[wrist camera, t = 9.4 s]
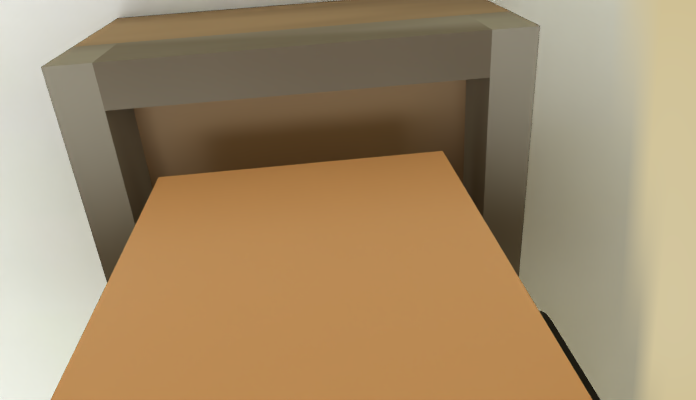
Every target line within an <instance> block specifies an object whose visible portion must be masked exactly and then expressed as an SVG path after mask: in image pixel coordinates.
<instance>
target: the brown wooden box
mask: <svg viewBox="0 0 696 400" xmlns="http://www.w3.org/2000/svg"><path fill="white" fill-rule="evenodd" d="M539 31H540V26H539V25H537V24H535V23H533V22H531V21H529V20H527V19H525V18H523V17H521V16H519V15H517V14H515V13H513V12H511V11H508V10H506V9H504V8H502V7H500V6H498V5H496V4H494V3H492V2H490V1H488V0H342V1H329V2H317V3H304V4H292V5H279V6H266V7H254V8H241V9H229V10H216V11H203V12H191V13H178V14H166V15H153V16H140V17H128V18H117V19H116V20H114V21H113V22H111V23H109V24H108V25H106V26H105V27H103V28H102V29H100V30H98V31H97V32H95V33H94V34H92V35H91V36H89V37H88V38H86V39H84V40H83V41H81V42H80V43H78V44H77V45H75V46H73V47H72V48H70V49H69V50H67V51H66V52H64V53H62V54H61V55H59V56H58V57H56V58H55V59H53V60H51V61H50V62H48V63H47V64H45V65H44V66H42V67H41V68H42V72H43V75H44V78H45V81H46V85H47V88H48V91H49V94H50V98H51V101H52V104H53V108H54V111H55V114H56V117H57V121H58V124H59V127H60V130H61V134H62V137H63V140H64V143H65V147H66V150H67V153H68V156H69V160H70V163H71V166H72V169H73V173H74V176H75V179H76V182H77V186H78V189H79V192H80V195H81V199H82V202H83V205H84V208H85V212H86V215H87V218H88V222H89V225H90V228H91V231H92V235H93V238H94V241H95V244H96V248H97V251H98V254H99V257H100V261H101V264H102V267H103V270H104V274H105V277H106V280H107V283H108V281H109V278H110V276H111V274H112V272H113V270H114V268H115V266H116V264H117V262H118V260H119V258H120V256H121V254H122V252H123V250H124V247H125V245H126V243H127V241H128V239H129V237H130V235H131V233H132V231H133V229H134V227H135V225H136V223H137V221H138V219H139V217H140V214H141V212H142V210H143V208H144V206H145V204H146V202H147V200H148V198H149V196H150V194H151V192H152V190H153V188H154V186H155V184H156V181H157V179H158V177H166V176H177V175H188V174H199V173H209V172H220V171H231V170H242V169H252V168H263V167H274V166H285V165H296V164H306V163H317V162H328V161H339V160H349V159H360V158H371V157H382V156H392V155H403V154H414V153H425V152H436V151H443V152H444V154H445V156H446V157H447V159H448V161H449V162H450V164H451V166H452V167H453V169H454V171H455V172H456V174H457V176H458V177H459V179H460V181H461V182H462V184H463V186H464V187H465V189H466V191H467V192H468V194H469V196H470V197H471V199H472V201H473V202H474V204H475V206H476V207H477V209H478V211H479V212H480V214H481V216H482V217H483V219H484V221H485V222H486V224H487V225H488V227H489V229H490V230H491V232H492V234H493V235H494V237H495V239H496V240H497V242H498V244H499V245H500V247H501V249H502V250H503V252H504V254H505V255H506V257H507V259H508V260H509V262H510V264H511V265H512V267H513V269H514V270H515V272H516V274H517V275H518V277H519V267H520V255H521V244H522V232H523V220H524V208H525V196H526V185H527V173H528V161H529V149H530V137H531V125H532V114H533V102H534V90H535V78H536V66H537V55H538V43H539Z"/></svg>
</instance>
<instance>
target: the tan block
mask: <svg viewBox="0 0 696 400" xmlns="http://www.w3.org/2000/svg"><path fill="white" fill-rule="evenodd" d="M51 400H592V398H591V396H590V395H589V393H588V392H587V390H586V388H585V387H584V385H583V383H582V382H581V380H580V378H579V377H578V375H577V373H576V372H575V370H574V368H573V367H572V365H571V363H570V362H569V360H568V358H567V357H566V355H565V353H564V352H563V350H562V348H561V347H560V345H559V343H558V342H557V340H556V338H555V337H554V335H553V333H552V332H551V330H550V328H549V327H548V325H547V323H546V322H545V320H544V318H543V317H542V315H541V313H540V312H539V310H538V309H537V307H536V305H535V304H534V302H533V300H532V299H531V297H530V295H529V294H528V292H527V290H526V289H525V287H524V285H523V284H522V282H521V280H520V279H519V277H518V275H517V274H516V272H515V270H514V269H513V267H512V265H511V264H510V262H509V260H508V259H507V257H506V255H505V254H504V252H503V250H502V249H501V247H500V245H499V244H498V242H497V240H496V239H495V237H494V235H493V234H492V232H491V230H490V229H489V227H488V225H487V224H486V222H485V221H484V219H483V217H482V216H481V214H480V212H479V211H478V209H477V207H476V206H475V204H474V202H473V201H472V199H471V197H470V196H469V194H468V192H467V191H466V189H465V187H464V186H463V184H462V182H461V181H460V179H459V177H458V176H457V174H456V172H455V171H454V169H453V167H452V166H451V164H450V162H449V161H448V159H447V157H446V156H445V154H444V152H443V151H436V152H425V153H414V154H403V155H392V156H382V157H371V158H360V159H349V160H339V161H328V162H317V163H306V164H296V165H285V166H274V167H263V168H252V169H242V170H231V171H220V172H209V173H199V174H188V175H177V176H166V177H158V179H157V181H156V184H155V186H154V188H153V190H152V192H151V194H150V196H149V198H148V200H147V202H146V204H145V206H144V208H143V210H142V212H141V214H140V217H139V219H138V221H137V223H136V225H135V227H134V229H133V231H132V233H131V235H130V237H129V239H128V241H127V243H126V245H125V247H124V250H123V252H122V254H121V256H120V258H119V260H118V262H117V264H116V266H115V268H114V270H113V272H112V274H111V276H110V278H109V281H108V283H107V285H106V287H105V289H104V291H103V293H102V295H101V297H100V299H99V301H98V303H97V305H96V307H95V309H94V311H93V314H92V316H91V318H90V320H89V322H88V324H87V326H86V328H85V330H84V332H83V334H82V336H81V338H80V340H79V342H78V344H77V347H76V349H75V351H74V353H73V355H72V357H71V359H70V361H69V363H68V365H67V367H66V369H65V371H64V373H63V375H62V378H61V380H60V382H59V384H58V386H57V388H56V390H55V392H54V394H53V396H52V398H51Z"/></svg>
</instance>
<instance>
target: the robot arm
mask: <svg viewBox="0 0 696 400" xmlns="http://www.w3.org/2000/svg"><path fill="white" fill-rule="evenodd" d="M539 312H540V313H541V315H542V317H543V318H544V320H545V322H546V323H547V325H548V327H549V328H550V330H551V332H552V333H553V335H554V337H555V338H556V340H557V342H558V343H559V345H560V347H561V348H562V350H563V352H564V353H565V355H566V357H567V358H568V360H569V362H570V363H571V365H572V367H573V368H574V370H575V372H576V373H577V375H578V377H579V378H580V380H581V382H582V383H583V385H584V387H585V388H586V390H587V392H588V393H589V395H590V396H591V398H592V400H600V399H599V397H598V395H597V394H596V392H595V390H594V389H593V387H592V386H591V384H590V382H589V381H588V379H587V377H586V376H585V374H584V373H583V371H582V369H581V368H580V366H579V364H578V363H577V361H576V360H575V358H574V356H573V355H572V353H571V352H570V350H569V348H568V347H567V345H566V343H565V342H564V340H563V339H562V337H561V335H560V334H559V332H558V330H557V329H556V327H555V326H554V324H553V322H552V321H551V319H550V318H549V317H548V315H547V314H546V313H544V312H542V311H539Z"/></svg>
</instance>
